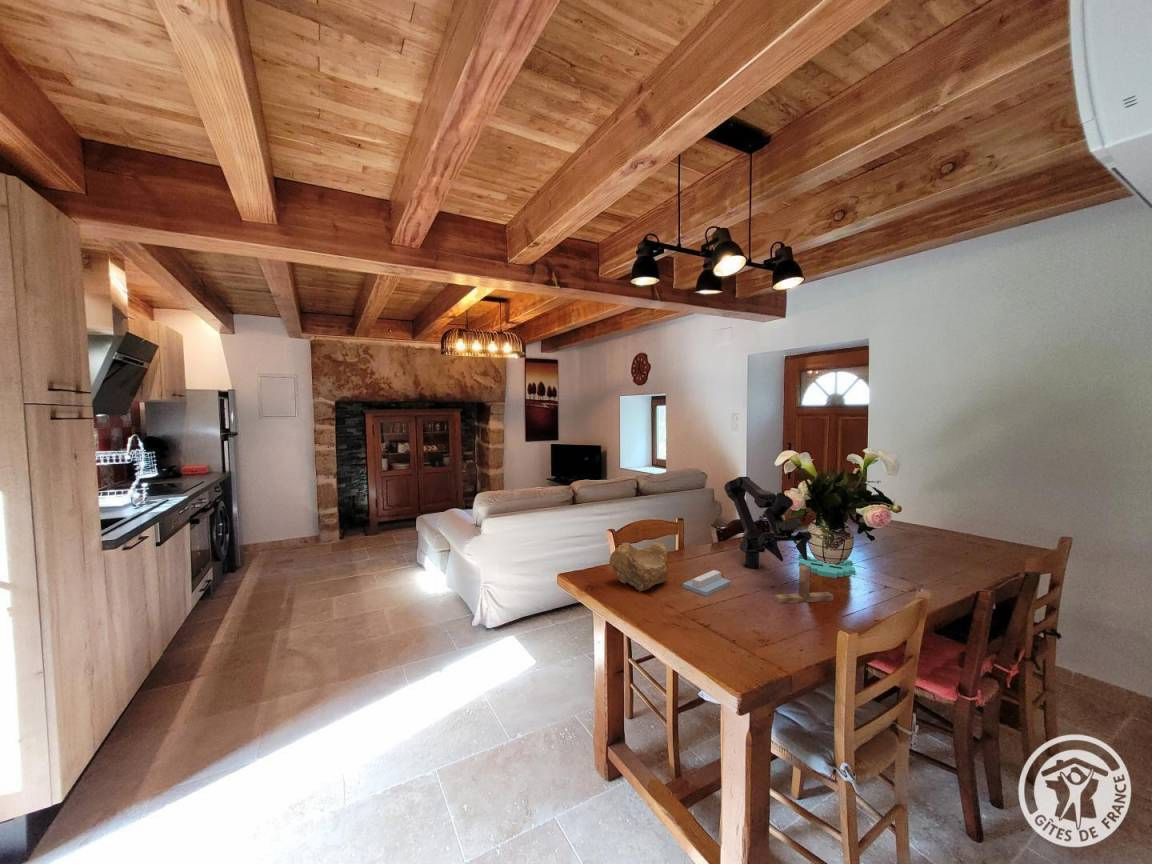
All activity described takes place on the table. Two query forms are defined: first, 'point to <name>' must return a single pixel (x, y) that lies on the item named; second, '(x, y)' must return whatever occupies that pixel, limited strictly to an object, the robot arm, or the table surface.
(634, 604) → the table surface
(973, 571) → the table surface
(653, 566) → the rough brown rock
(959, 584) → the table surface
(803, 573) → the wooden bar with post
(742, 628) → the table surface
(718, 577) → the stand
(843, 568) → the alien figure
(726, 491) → the robot arm
